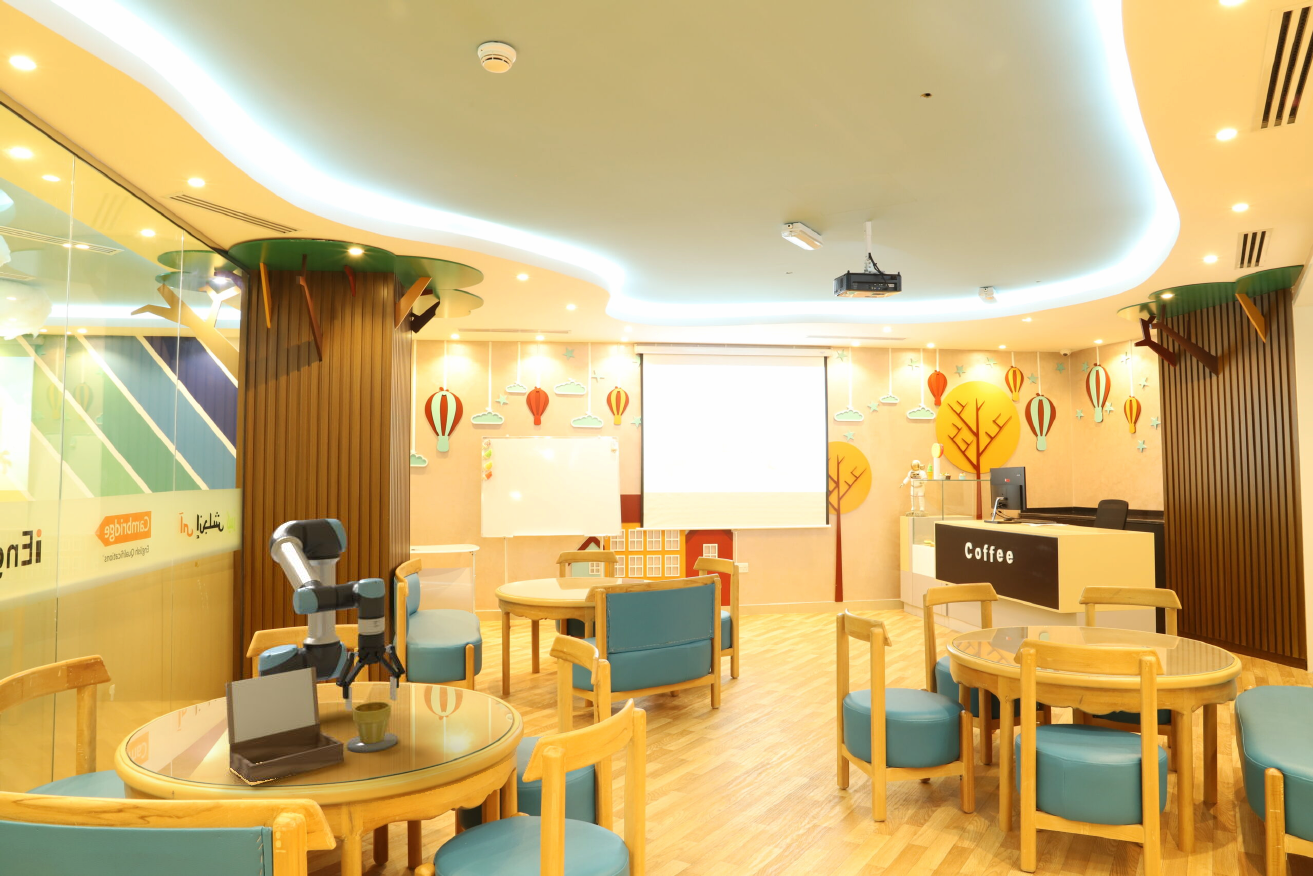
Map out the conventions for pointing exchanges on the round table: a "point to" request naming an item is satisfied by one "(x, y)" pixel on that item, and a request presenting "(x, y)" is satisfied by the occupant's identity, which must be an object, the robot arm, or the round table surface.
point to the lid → (271, 704)
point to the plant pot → (372, 721)
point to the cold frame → (285, 753)
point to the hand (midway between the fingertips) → (371, 704)
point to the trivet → (372, 744)
